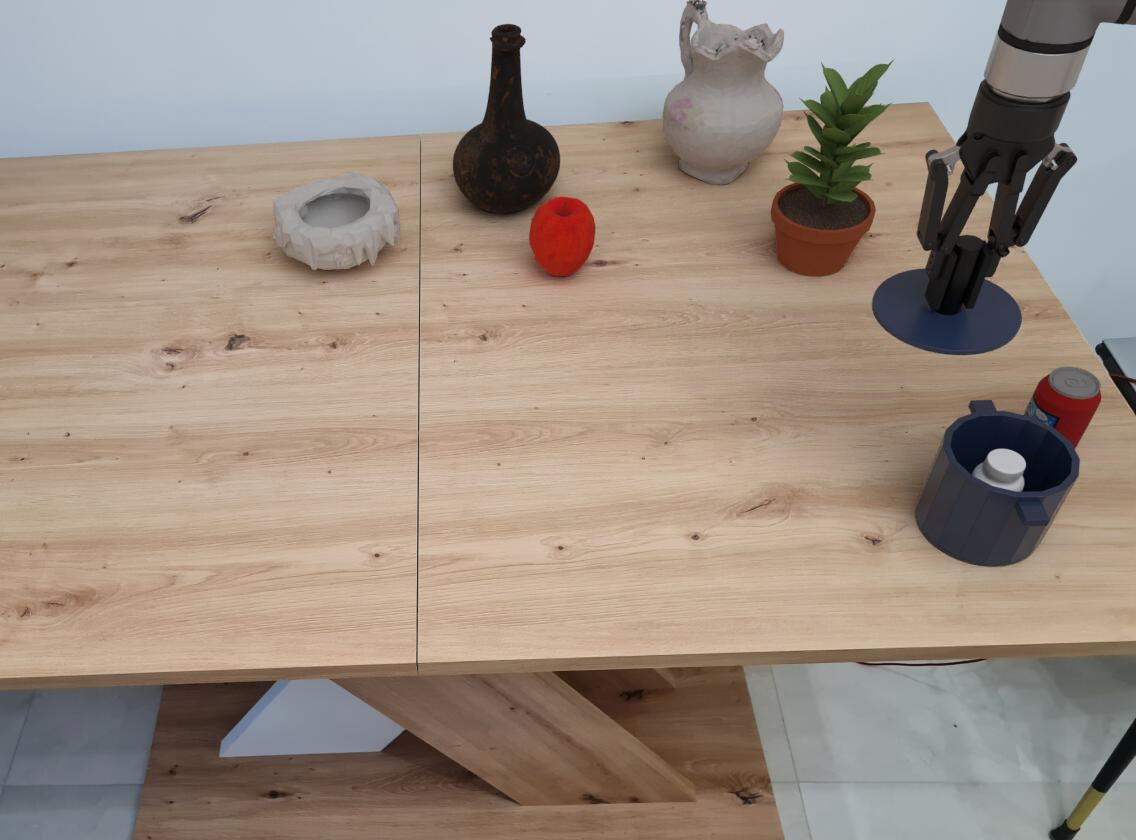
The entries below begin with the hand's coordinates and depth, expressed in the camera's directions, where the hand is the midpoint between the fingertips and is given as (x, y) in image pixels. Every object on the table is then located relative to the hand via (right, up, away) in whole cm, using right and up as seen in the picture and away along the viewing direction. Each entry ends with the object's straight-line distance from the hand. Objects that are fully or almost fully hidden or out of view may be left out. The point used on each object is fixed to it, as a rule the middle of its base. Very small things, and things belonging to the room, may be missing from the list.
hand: (948, 301), depth 112 cm
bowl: (-69, +21, +59) cm, 93 cm away
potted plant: (+4, +18, +49) cm, 52 cm away
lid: (0, -1, +1) cm, 1 cm away
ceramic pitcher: (-6, +40, +70) cm, 81 cm away
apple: (-34, +16, +51) cm, 64 cm away
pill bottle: (+9, -23, +12) cm, 28 cm away
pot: (+9, -23, +12) cm, 28 cm away
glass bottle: (-41, +33, +67) cm, 85 cm away
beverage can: (+20, -15, +18) cm, 31 cm away
